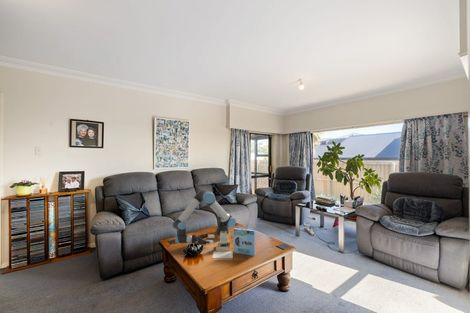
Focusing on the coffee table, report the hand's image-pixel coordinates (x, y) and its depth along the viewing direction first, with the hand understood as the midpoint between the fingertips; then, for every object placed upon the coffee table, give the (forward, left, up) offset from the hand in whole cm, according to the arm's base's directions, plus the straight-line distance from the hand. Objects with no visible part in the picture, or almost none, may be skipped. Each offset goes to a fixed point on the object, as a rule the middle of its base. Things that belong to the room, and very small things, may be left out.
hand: (213, 238), depth 201 cm
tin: (-9, +4, -9) cm, 13 cm away
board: (-3, +16, -10) cm, 19 cm away
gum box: (-23, +21, -10) cm, 32 cm away
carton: (-9, +4, -10) cm, 14 cm away
